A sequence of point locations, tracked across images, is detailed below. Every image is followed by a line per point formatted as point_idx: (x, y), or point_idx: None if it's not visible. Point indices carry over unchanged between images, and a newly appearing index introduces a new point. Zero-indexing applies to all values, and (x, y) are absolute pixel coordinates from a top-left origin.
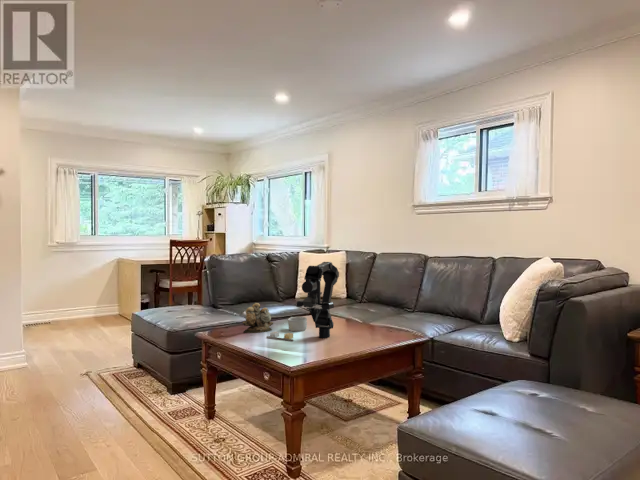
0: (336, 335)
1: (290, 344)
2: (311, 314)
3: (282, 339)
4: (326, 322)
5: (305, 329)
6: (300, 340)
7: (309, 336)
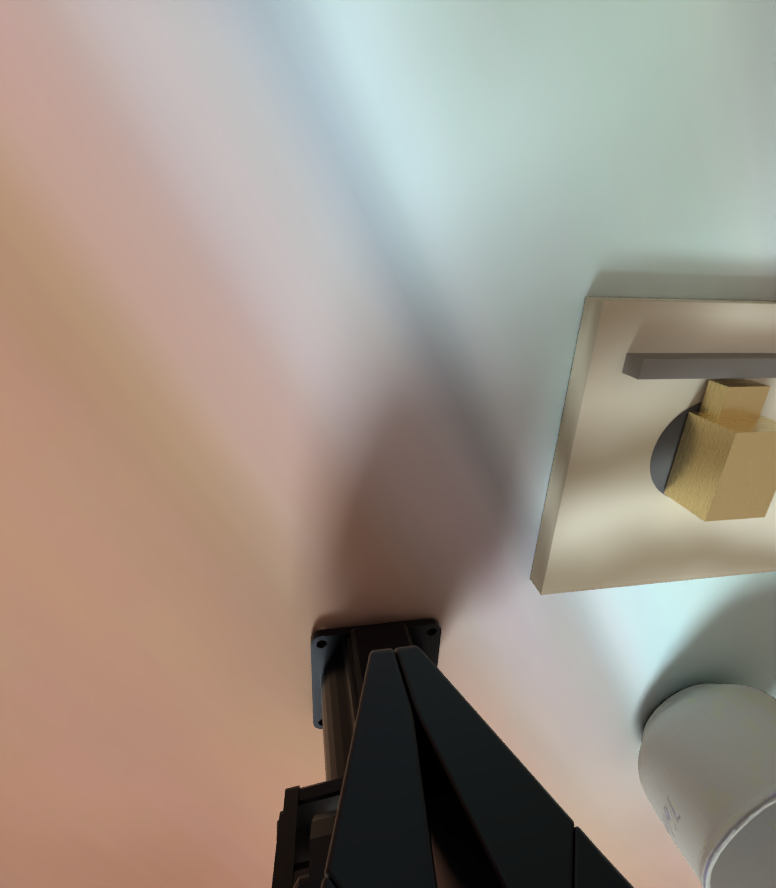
0: None
1: None
2: (595, 868)
3: (763, 355)
4: (311, 862)
5: (639, 761)
6: None
7: (548, 670)
